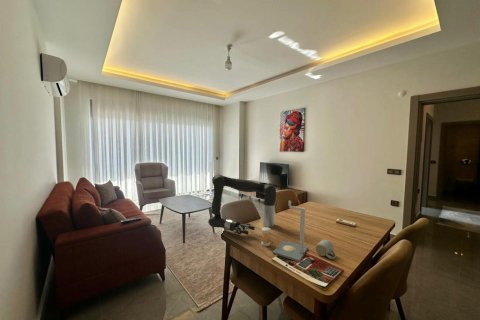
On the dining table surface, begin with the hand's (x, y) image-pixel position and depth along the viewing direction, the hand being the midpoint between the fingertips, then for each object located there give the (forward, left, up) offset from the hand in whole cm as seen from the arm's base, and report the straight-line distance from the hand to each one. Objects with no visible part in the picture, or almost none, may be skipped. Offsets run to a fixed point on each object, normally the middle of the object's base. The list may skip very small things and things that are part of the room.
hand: (251, 230), depth 137 cm
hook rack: (0, +28, -6) cm, 29 cm away
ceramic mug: (-8, +47, -6) cm, 48 cm away
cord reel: (0, +11, -6) cm, 13 cm away
